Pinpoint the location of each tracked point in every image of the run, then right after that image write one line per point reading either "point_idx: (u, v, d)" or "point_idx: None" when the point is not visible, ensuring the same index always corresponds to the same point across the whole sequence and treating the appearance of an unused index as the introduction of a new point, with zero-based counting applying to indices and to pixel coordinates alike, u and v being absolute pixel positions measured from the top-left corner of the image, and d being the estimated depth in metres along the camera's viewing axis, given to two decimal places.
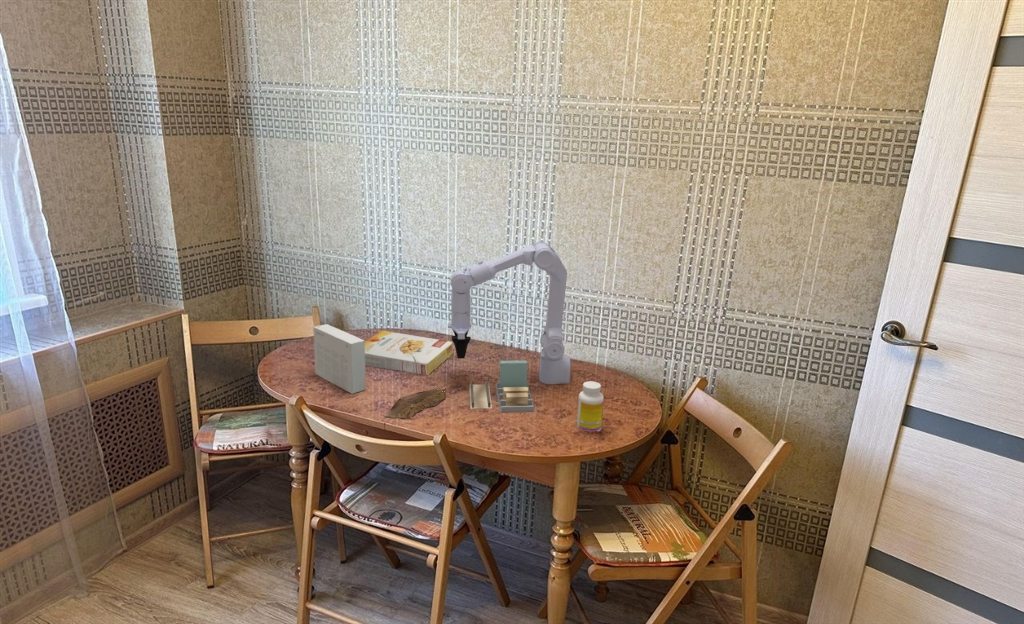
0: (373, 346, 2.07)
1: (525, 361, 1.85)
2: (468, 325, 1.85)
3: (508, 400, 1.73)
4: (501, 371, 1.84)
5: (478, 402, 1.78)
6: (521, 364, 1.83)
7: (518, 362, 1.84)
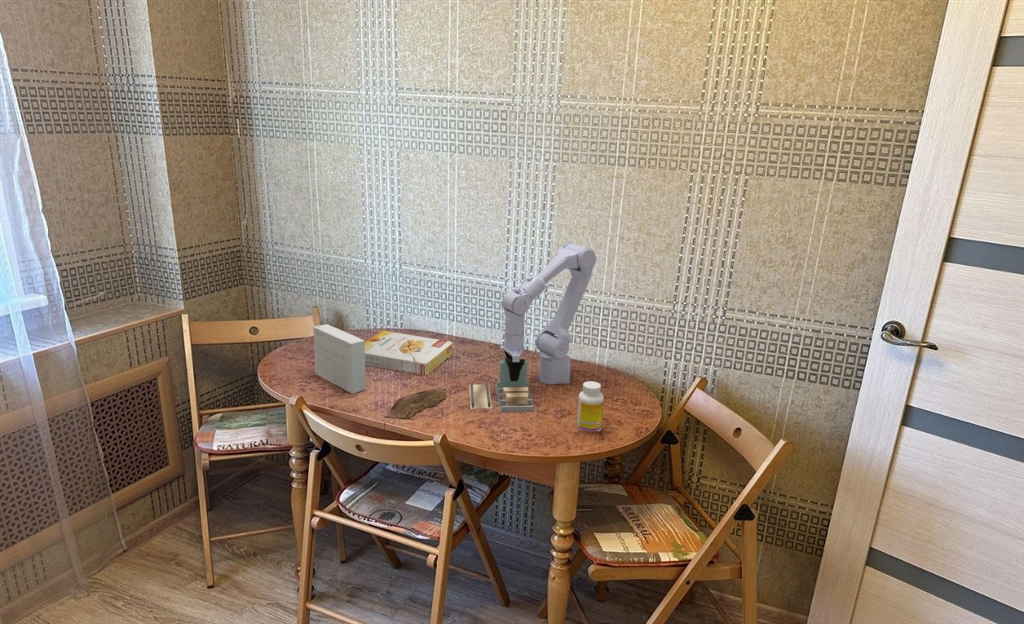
0: (373, 346, 2.07)
1: (525, 361, 1.85)
2: (522, 347, 1.81)
3: (508, 400, 1.73)
4: (501, 371, 1.84)
5: (478, 402, 1.78)
6: None
7: None
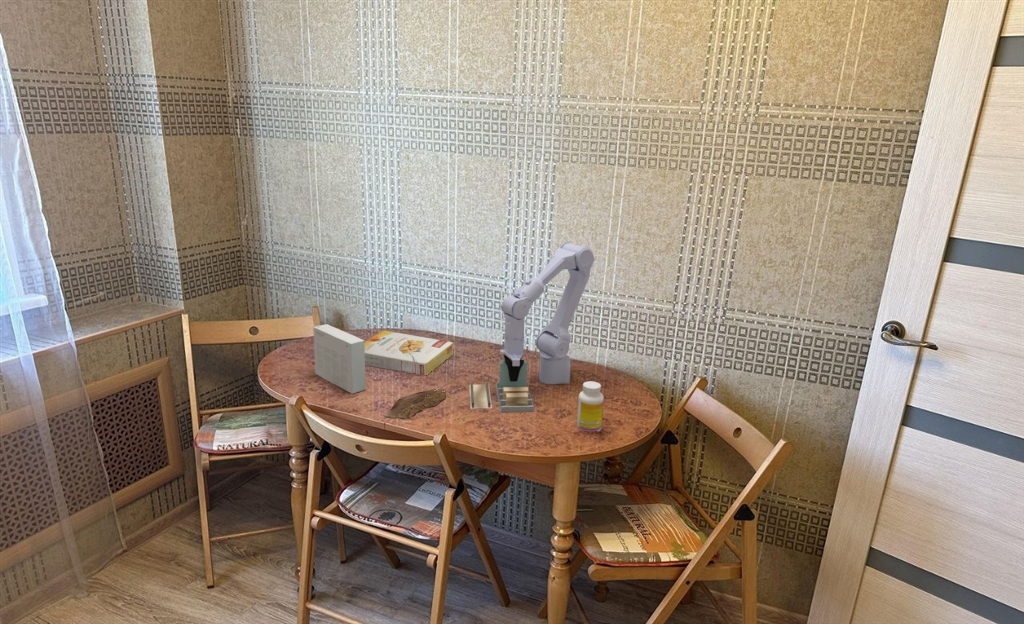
0: (373, 346, 2.07)
1: (525, 361, 1.85)
2: (522, 351, 1.81)
3: (508, 400, 1.73)
4: (501, 371, 1.84)
5: (478, 402, 1.78)
6: None
7: None
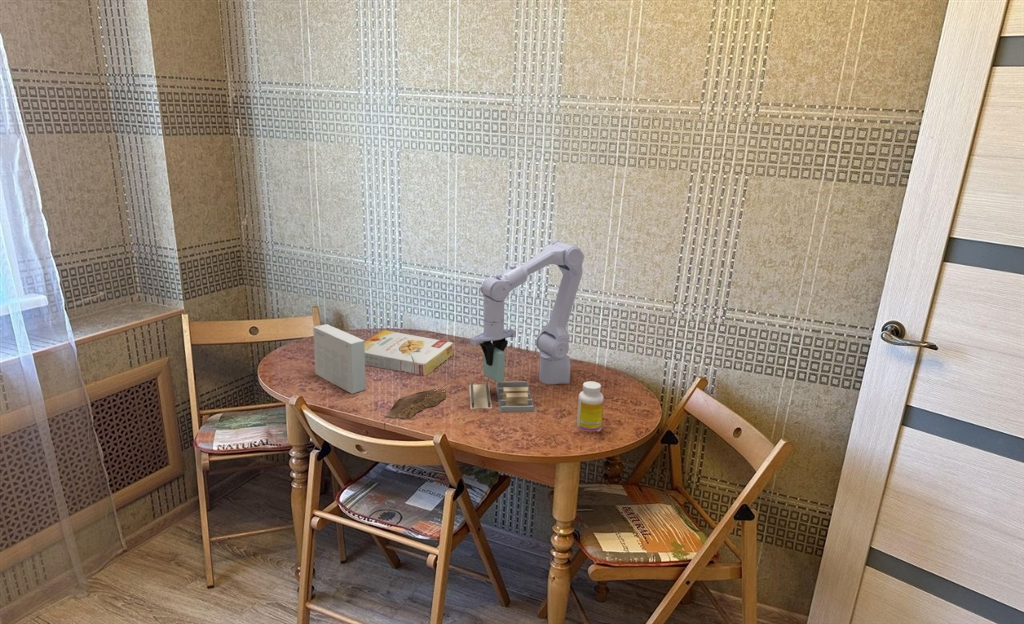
0: (373, 346, 2.07)
1: (501, 352, 1.76)
2: (492, 336, 1.75)
3: (508, 400, 1.73)
4: None
5: (478, 402, 1.78)
6: (495, 353, 1.77)
7: (495, 350, 1.78)
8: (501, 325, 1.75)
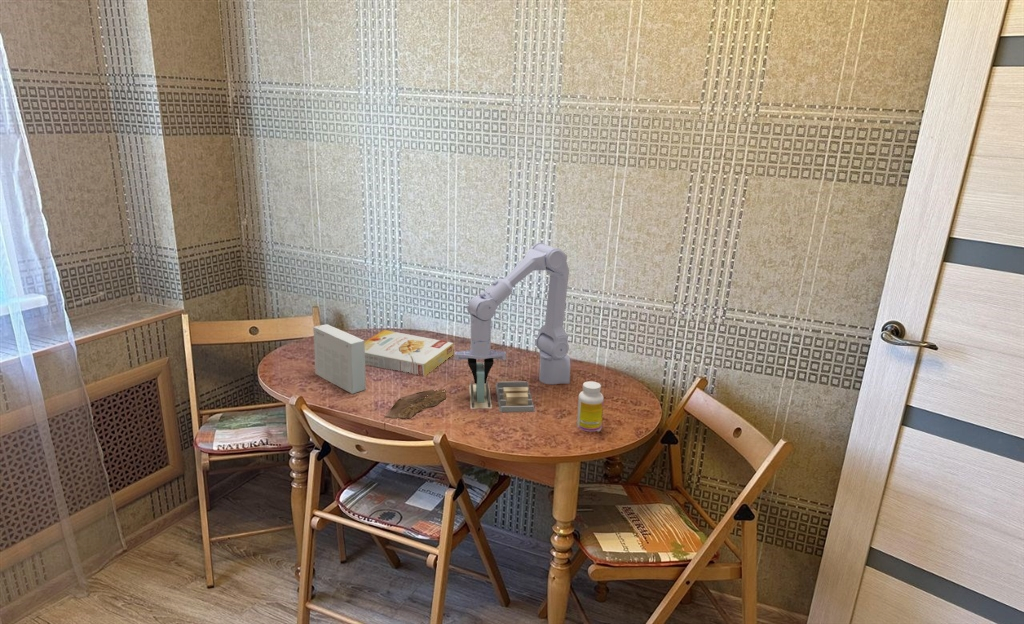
0: (373, 346, 2.07)
1: (481, 372, 1.76)
2: (474, 354, 1.75)
3: (508, 400, 1.73)
4: (476, 371, 1.83)
5: (478, 402, 1.78)
6: (477, 372, 1.77)
7: (479, 369, 1.78)
8: (483, 345, 1.74)
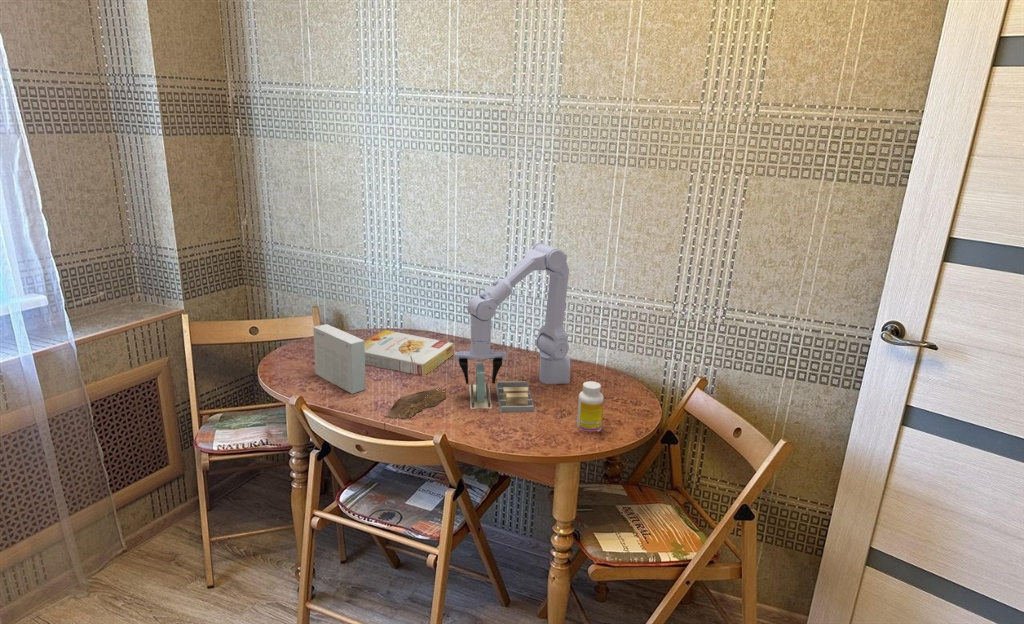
0: (373, 345, 2.08)
1: (481, 372, 1.76)
2: (474, 354, 1.76)
3: (508, 400, 1.73)
4: (476, 371, 1.83)
5: (478, 402, 1.78)
6: (477, 372, 1.77)
7: (479, 369, 1.78)
8: (483, 345, 1.74)
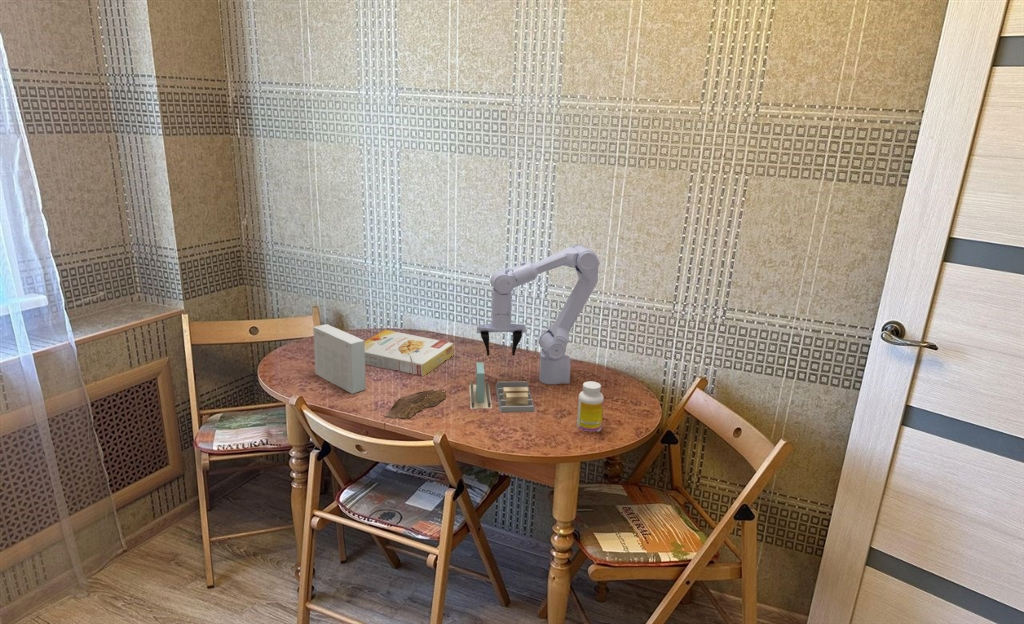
0: (373, 345, 2.08)
1: (481, 372, 1.76)
2: (495, 327, 1.83)
3: (508, 400, 1.73)
4: (476, 371, 1.83)
5: (478, 402, 1.78)
6: (477, 372, 1.77)
7: (479, 369, 1.78)
8: (504, 318, 1.82)
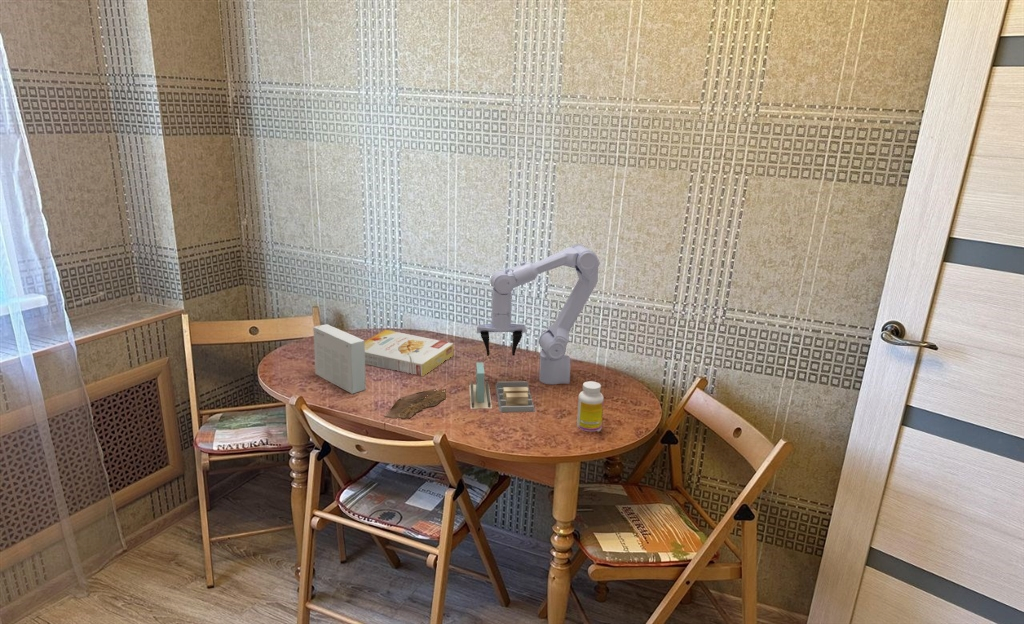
0: (373, 345, 2.08)
1: (481, 372, 1.76)
2: (495, 327, 1.83)
3: (508, 400, 1.73)
4: (476, 371, 1.83)
5: (478, 402, 1.78)
6: (477, 372, 1.77)
7: (479, 369, 1.78)
8: (504, 318, 1.82)
